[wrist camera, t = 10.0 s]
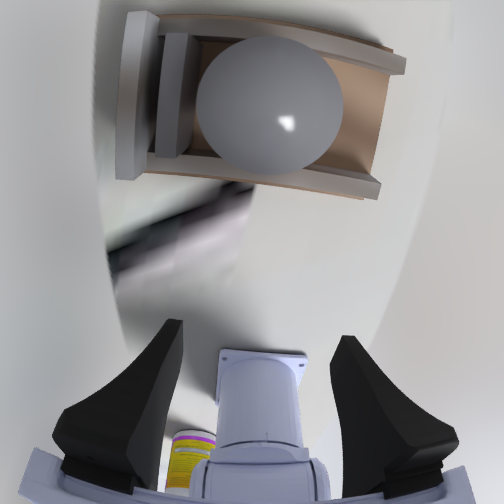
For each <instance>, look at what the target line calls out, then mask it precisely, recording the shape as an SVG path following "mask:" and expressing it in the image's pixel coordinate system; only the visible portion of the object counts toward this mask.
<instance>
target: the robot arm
mask: <svg viewBox="0 0 504 504" xmlns="http://www.w3.org/2000/svg"><path fill="white" fill-rule="evenodd" d="M182 356H183V320H176V319H168V320H166V322H165V323H164V325H163V326H162V328H161V329H160V331H159V332H158V333H157V335H156V336H155V337H154V338H153V340H152V341H151V342H150V343H149V345H148V346H147V347H146V348H145V349H144V350H143V352H142V353H141V354H140V355H139V356H138V357H137V358H136V359H135V360H134V361H133V362H132V363H131V364H130V365H129V366H128V367H127V368H126V369H125V370H124V371H123V372H122V373H121V374H119V375H118V376H117V377H116V378H115V379H113V380H112V381H111V382H110V383H108V384H107V385H106V386H104V387H103V388H102V389H100V390H99V391H97V392H95V393H94V394H92V395H91V396H89V397H88V398H86V399H84V400H82V401H80V402H78V403H77V404H75V405H73V406H71V407H69V408H67V409H65V410H64V411H63V413H62V414H61V416H60V418H59V419H58V422H57V424H56V427H55V429H54V431H53V434H52V438H53V440H54V441H55V443H56V444H57V445H58V447H59V448H60V449H61V450H62V451H63V452H64V454H65V457H64V460H62V459H60V458H59V457H57V456H54V455H52V454H50V453H47V452H45V451H42V450H40V449H38V448H34V449H33V452H32V454H31V457H30V459H29V462H28V465H27V468H26V470H25V473H24V476H23V479H22V482H21V484H20V487H19V491H18V493H19V495H21V496H23V497H24V498H26V499H27V500H29V501H30V502H32V503H34V504H476V502H475V499H474V495H473V492H472V488H471V485H470V482H469V479H468V476H467V473H466V470H465V467H464V466H460V467H457V468H454V469H451V470H448V471H446V472H444V473H441V468H443V463H442V460H444V459H445V458H446V457H447V456H448V455H450V454H451V453H452V452H453V451H454V450H455V449H456V448H457V447H458V445H459V440H458V437H457V435H456V432H455V430H454V428H453V427H452V426H450V425H448V424H446V423H444V422H442V421H440V420H438V419H436V418H435V417H434V416H432V415H430V414H429V413H427V412H426V411H424V410H423V409H422V408H420V407H419V406H418V405H416V404H415V403H414V402H413V401H412V400H410V399H409V398H408V397H407V396H406V395H405V394H403V392H401V391H400V390H399V389H398V388H397V387H396V386H395V385H394V384H393V383H392V382H391V380H390V379H389V378H388V377H387V376H386V375H385V374H384V373H383V371H382V370H381V369H380V368H379V367H378V365H377V364H376V363H375V362H374V360H373V359H372V358H371V357H370V355H369V354H368V353H367V351H366V350H365V349H364V348H363V346H362V345H361V344H360V342H359V341H358V340H357V339H356V337H355V336H347V335H342V337H341V340H340V342H339V344H338V347H337V349H336V351H335V353H334V356H333V358H332V360H331V362H330V376H331V385H332V389H333V394H334V398H335V403H336V407H337V412H338V416H339V421H340V427H341V435H342V448H343V491H342V499H334V500H331V497H330V496H331V494H330V482H329V477H328V472H327V470H326V467H325V465H324V464H322V463H321V462H320V461H319V460H318V459H317V458H309V450H308V448H303V438H302V428H301V418H300V409H299V399H298V390H297V388H298V386H299V383H300V381H301V379H302V376H303V374H304V371H305V369H306V366H307V363H308V357H307V356H304V355H289V354H274V353H262V352H250V351H240V350H230V349H222V350H221V351H220V353H219V364H218V376H217V388H216V400H215V405H216V406H217V407H219V410H218V421H217V432H216V444H215V448H212V449H211V451H210V459H202V460H200V462H199V463H198V464H196V465H195V466H194V468H193V471H192V474H191V479H190V486H189V497H186V496H179V495H173V494H168V493H162V492H157V485H158V475H159V466H160V457H161V450H162V443H163V436H164V430H165V424H166V418H167V414H168V410H169V406H170V403H171V400H172V396H173V393H174V389H175V386H176V383H177V379H178V376H179V372H180V367H181V362H182ZM223 357H225V358H223Z"/></svg>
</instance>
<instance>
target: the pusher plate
mask: <svg viewBox="0 0 504 504" xmlns="http://www.w3.org/2000/svg"><path fill="white" fill-rule="evenodd" d="M202 49H203V45H202V44H201V43H200V42H199V41H197V40H196V39H195V38H194V37H193V36H192V35H190V34H189V33H166V37H165V44H164V52H163V60H162V68H161V77H160V87H159V98H158V110H157V124H156V141H155V157H156V158H171V159H176V158H177V157H178V156H179V155H180V154H181V153H183V152H184V151H185V150H186V149H187V148H188V147H189V146H191V145H192V139H193V128H194V117H195V107H196V98H197V89H198V80H199V72H200V64H201V57H202Z"/></svg>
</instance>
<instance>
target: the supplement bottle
mask: <svg viewBox="0 0 504 504" xmlns="http://www.w3.org/2000/svg"><path fill="white" fill-rule="evenodd" d="M215 444H216V436H214V435H212V434H210V433H207V432H203V431H197V430H185V431H180V432H178V433H176V434H175V435H174V437H173V442H172V448H171V454H170V460H169V467H168V473H167V480H166V486H165V493H168V494H173V495H179V496H186V497H189V486H190V479H191V474H192V471H193V468H194V466H195V465H196V464H198V463H199V462H200V460H202V459H210V451H211V449H212V448H215Z"/></svg>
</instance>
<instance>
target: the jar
mask: <svg viewBox="0 0 504 504" xmlns="http://www.w3.org/2000/svg"><path fill="white" fill-rule="evenodd" d="M196 109H197V117H198V122H199V125H200V128H201V131H202V133H203V135H204V137H205V139H206V140H207V142H208V143H209V145H210V146H211V147H212V148H213V150H214V151H215V152H216V153H217V154H218V155H219V156H221V157H222V158H223V159H224V160H226V161H227V162H228V163H230V164H232V165H233V166H235V167H237V168H239V169H242V170H245V171H247V172H251V173H255V174H262V175H280V174H286V173H290V172H294V171H297V170H299V169H302V168H304V167H306V166H308V165H310V164H311V163H313V162H314V161H316V160H317V159H318V158H319V157H320V156H322V155H323V154H324V153H325V152H326V150H327V149H328V148H329V147H330V146H331V144H332V143H333V141H334V139H335V138H336V136H337V133H338V131H339V129H340V125H341V122H342V117H343V95H342V91H341V87H340V84H339V82H338V79H337V77H336V75H335V73H334V72H333V70H332V68H331V67H330V66H329V64H328V63H327V62H326V61H325V60H324V59H323V58H322V57H321V56H320V55H319V54H318V53H317V52H315V51H314V50H313V49H311V48H309V47H308V46H306V45H304V44H302V43H300V42H298V41H295V40H292V39H288V38H284V37H278V36H261V37H254V38H250V39H246V40H243V41H241V42H238V43H236V44H234V45H232V46H230V47H228V48H227V49H226V50H224V51H223V52H222V53H220V54H219V55H218V56H217V57H216V58H215V59H214V60H213V61H212V63H211V64H210V65H209V66H208V68H207V70H206V71H205V73H204V75H203V77H202V79H201V82H200V84H199V88H198V92H197V100H196Z"/></svg>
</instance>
